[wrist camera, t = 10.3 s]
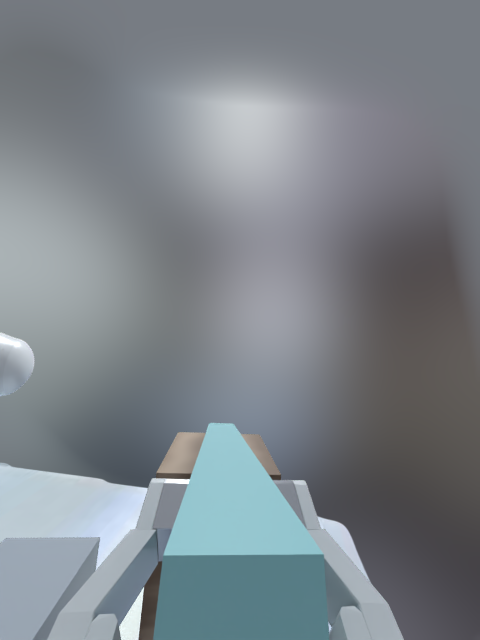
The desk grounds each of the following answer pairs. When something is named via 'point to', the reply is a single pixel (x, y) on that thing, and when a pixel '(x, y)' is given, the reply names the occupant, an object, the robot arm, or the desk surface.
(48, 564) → the slate base
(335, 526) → the desk surface
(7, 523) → the desk surface
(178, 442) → the walnut pedestal
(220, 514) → the teal bar
